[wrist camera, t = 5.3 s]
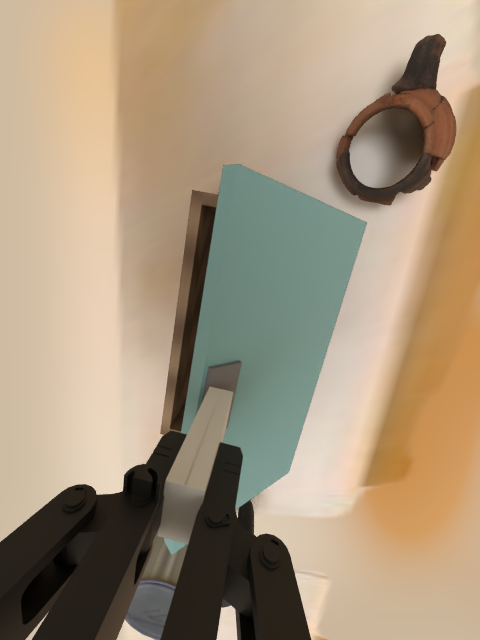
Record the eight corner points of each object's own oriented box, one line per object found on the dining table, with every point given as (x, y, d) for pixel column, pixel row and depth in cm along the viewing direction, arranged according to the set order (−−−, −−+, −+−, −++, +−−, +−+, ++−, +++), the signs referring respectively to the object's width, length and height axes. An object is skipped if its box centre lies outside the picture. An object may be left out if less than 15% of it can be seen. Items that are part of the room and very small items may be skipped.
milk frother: (186, 517, 43) (144, 649, 29) (137, 439, 40) (63, 545, 26) (267, 495, 40) (264, 631, 26) (220, 409, 37) (188, 511, 23)
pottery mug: (435, 201, 28) (431, 211, 22) (343, 196, 33) (319, 204, 27) (488, 41, 22) (501, -3, 16) (365, 63, 27) (341, 35, 21)
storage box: (210, 202, 30) (192, 190, 23) (334, 226, 29) (352, 221, 23) (180, 400, 37) (160, 433, 31) (278, 424, 37) (280, 464, 30)
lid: (223, 165, 13) (243, 163, 12) (353, 221, 22) (370, 222, 21) (164, 540, 20) (173, 559, 19) (280, 464, 30) (290, 474, 29)
